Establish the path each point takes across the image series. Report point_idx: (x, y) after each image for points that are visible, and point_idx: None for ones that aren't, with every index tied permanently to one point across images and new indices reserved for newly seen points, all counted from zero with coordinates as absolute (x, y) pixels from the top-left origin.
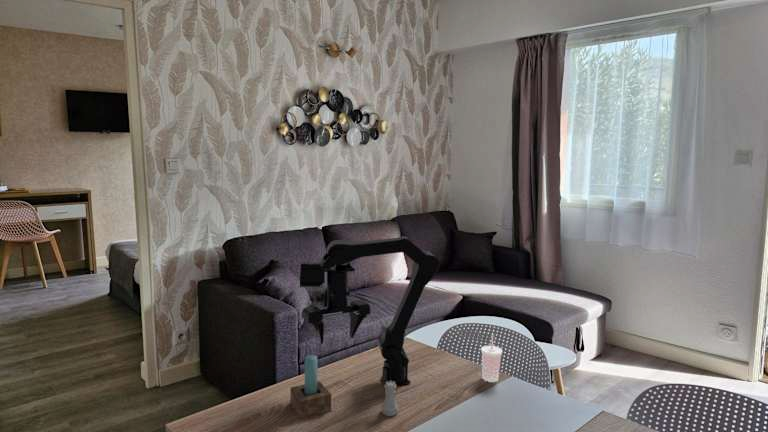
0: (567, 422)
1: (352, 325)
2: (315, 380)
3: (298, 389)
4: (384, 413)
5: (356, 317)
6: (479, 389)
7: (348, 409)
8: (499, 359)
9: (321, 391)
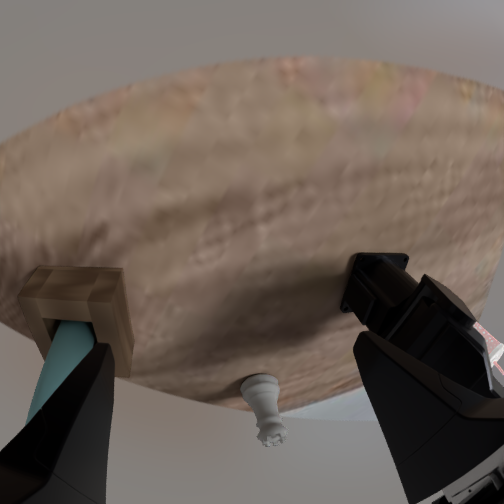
0: None
1: (404, 417)
2: None
3: (39, 318)
4: (241, 392)
5: (420, 491)
6: None
7: (178, 351)
8: None
9: None
